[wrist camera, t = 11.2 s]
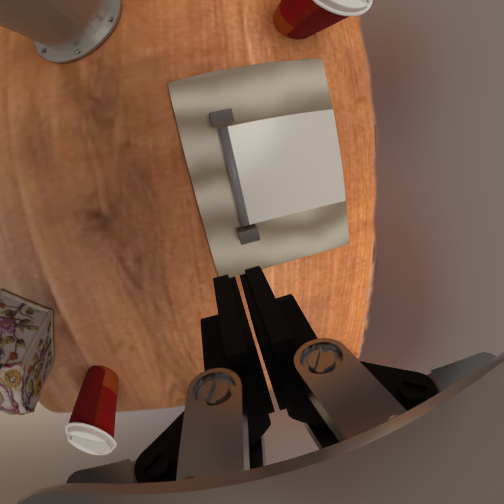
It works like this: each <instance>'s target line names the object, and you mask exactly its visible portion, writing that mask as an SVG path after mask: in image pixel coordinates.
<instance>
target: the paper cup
mask: <svg viewBox="0 0 504 504" xmlns="http://www.w3.org/2000/svg"><path fill="white" fill-rule="evenodd" d="M371 4H372V0H282V1H281V2H280V4H279V6H278V8H277V10H276V12H275V14H274V24H275V26H276V28H277V29H278V30H279V31H280V32H281V33H282V34H283V35H285V36H287V37H289V38H292V39H304V38H307V37H309V36H311V35H313V34H315V33H317V32H319V31H321V30H323V29H325V28H327V27H329V26H331V25H333V24H335V23H337V22H339V21H341V20H343V19H345V18H347V17H349V16H357V15H361V14H363V13H365V12H366V11H367V10H368V9H369V8H370V7H371Z"/></svg>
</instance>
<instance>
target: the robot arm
mask: <svg viewBox="0 0 504 504" xmlns="http://www.w3.org/2000/svg"><path fill="white" fill-rule="evenodd" d="M121 10H122V2H121V0H0V25H1V26H3V27H6V28H8V29H10V30H13V31H15V32H17V33H19V34H22V35H24V36H26V37H28V38H30V39H32V40H34V44H35V48H36V50H37V52H38V53H39V54H40V56H41V57H43V58H44V59H46V60H48V61H51V62H55V63H68V62H72V61H76V60H78V59H80V58H83V57H85V56H86V55H88V54H90V53H91V52H93V51H94V50H95V49H97V48H98V47H99V46H100V45H101V44H102V43H103V42H104V41H105V40H106V39H107V38H108V37H109V36H110V34H111V33H112V32H113V30H114V28H115V27H116V25H117V23H118V21H119V18H120V15H121ZM111 21H113V22H111ZM79 52H80V54H79ZM240 278H241V282H242V286H243V290H244V293H245V297H246V301H247V305H248V308H249V312H250V316H251V320H252V323H253V327H254V331H255V334H256V338H257V341H258V344H259V347H260V350H261V354H262V357H263V360H264V363H265V366H266V369H267V372H268V375H269V378H270V381H271V384H272V387H273V390H274V393H275V397H276V400H277V403H278V405H279V408H280V410H282V409H287V412H288V415H289V417H291V418H292V419H295V420H298V421H301V422H304V425H305V427H306V429H307V431H308V432H309V434H310V435H311V437H312V439H313V440H314V442H315V443H316V445H317V446H318V448H319V450H317V451H314V452H311V453H308V454H305V455H302V456H299V457H296V458H292V459H289V460H285V461H282V462H278V463H274V464H270V465H266V455H265V442H264V437H263V434H264V433H265V432H266V430H267V429H268V428H269V426H270V425H271V423H270V422H271V421H270V418H269V413H272V412H275V411H274V408H273V404H272V401H271V397H270V394H269V391H268V387H267V384H266V380H265V377H264V374H263V370H262V367H261V363H260V360H259V356H258V353H257V349H256V346H255V343H254V339H253V336H252V333H251V329H250V326H249V323H248V319H247V316H246V313H245V309H244V306H243V302H242V299H241V296H240V292H239V289H238V285H237V282H236V278H235V277H231V278H229V276H228V274H227V275H223V276H220V277H216V278H213V282H214V288H215V295H216V302H217V308H218V315H215V316H211V317H207V318H203V319H201V333H202V346H203V357H204V369H205V371H204V372H202V373H200V374H199V375H198V376H196V377H195V378H194V379H193V380H192V382H191V383H190V384H189V387H188V390H187V396H186V403H185V410H184V412H183V413H182V414H181V415H180V416H179V417H178V418H177V419H176V420H175V421H174V422H173V423H172V424H171V425H170V426H169V427H168V428H167V429H166V430H165V431H164V432H163V433H162V434H161V435H160V436H159V437H158V438H157V439H156V440H155V441H154V442H153V443H152V444H151V445H150V446H149V447H147V449H145V450H144V451H143V452H142V453H141V455H140V456H139V457H138V459H137V460H135V461H131V460H130V459H127V460H123V461H119V462H115V463H111V464H106V465H102V466H98V467H93V468H88V469H83V470H79V471H76V472H74V473H73V474H72V475H70V476H69V478H68V480H67V482H66V484H57V485H52V486H47V487H44V488H40V489H37V490H34V491H32V492H30V493H28V494H26V495H24V496H23V497H22V498H21V499H20V500H19V501H18V503H17V504H504V352H503V353H501V354H500V355H498V356H495V355H493V354H491V353H486V352H483V353H478V354H475V355H473V356H470V357H468V358H465V359H462V360H460V361H457V362H454V363H451V364H448V365H445V366H443V367H439V368H436V369H433V370H431V372H430V374H428V375H425V374H422V373H419V372H413V371H408V370H402V369H397V368H391V367H386V366H381V365H376V364H371V363H366V362H362V361H359V360H358V359H357V358H356V357H355V356H354V355H353V354H352V353H351V352H350V351H349V349H348V348H347V347H346V346H345V345H343V344H342V343H341V342H339V341H337V340H334V339H328V338H320V339H318V338H317V337H316V335H315V333H314V332H313V330H312V328H311V326H310V325H309V323H308V321H307V319H306V318H305V316H304V314H303V312H302V311H301V309H300V307H299V306H298V304H297V302H296V300H295V299H294V297H293V296H292V294H289V295H286V296H283V297H279V298H276V299H275V297H274V294H273V292H272V290H271V288H270V286H269V284H268V282H267V280H266V278H265V276H264V274H263V272H262V269H261V267H260V266H256V267H252V268H249V269H245V274H242V275H240Z"/></svg>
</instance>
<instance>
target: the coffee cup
mask: <svg viewBox="0 0 504 504" xmlns="http://www.w3.org/2000/svg"><path fill="white" fill-rule="evenodd" d="M117 391H118V377H117V375H116V374H115V373H114V372H113V371H112V370H110V369H108V368H106V367H103V366H93V367H91V368H90V369H89V370H88V372H87V374H86V377H85V379H84V382H83V384H82V387H81V390H80V392H79V395H78V398H77V401H76V403H75V406H74V409H73V412H72V415H71V418H70V421H69V424H67V425H66V427H65V431H66V433H67V439H68V441H69V442H70V443H71V444H72V445H74V446H75V447H77V448H78V449H80V450H82V451H84V452H87V453H90V454H94V455H106V454H109V453H110V452H112V451H113V449H114V448H115V447H116V442H115V440H114V427H115V413H116V402H117Z"/></svg>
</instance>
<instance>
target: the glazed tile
mask: <svg viewBox="0 0 504 504" xmlns="http://www.w3.org/2000/svg"><path fill="white" fill-rule="evenodd" d="M218 130H219V134H220V138H221V143H222V147H223V151H224V155H225V160H226V164H227V168H228V173H229V177H230V181H231V185H232V190H233V194H234V198H235V202H236V207H237V211H238V215H239V219H240V224H241V226H248V225H251V224H255V223H258V222H262V221H266V220H270V219H274V218H278V217H282V216H286V215H290V214H294V213H298V212H302V211H306V210H310V209H314V208H318V207H322V206H326V205H330V204H334V203H339V202H343V201H346V197H345V188H344V179H343V171H342V164H341V156H340V149H339V142H338V136H337V130H336V124H335V118H334V112H333V109H330V110H322V111H313V112H306V113H299V114H292V115H286V116H279V117H273V118H268V119H262V120H257V121H252V122H247V123H242V124H237V125H233V126H228V127H224V128H219V129H218Z"/></svg>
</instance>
